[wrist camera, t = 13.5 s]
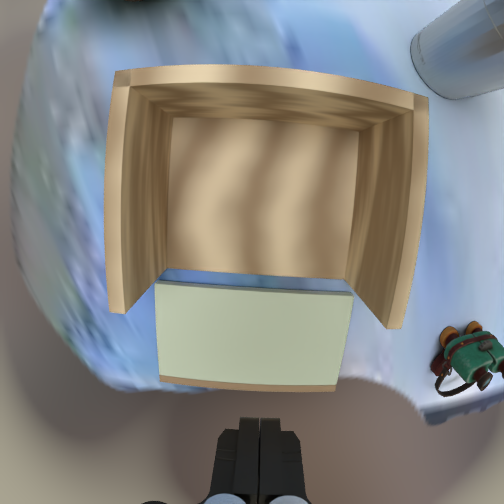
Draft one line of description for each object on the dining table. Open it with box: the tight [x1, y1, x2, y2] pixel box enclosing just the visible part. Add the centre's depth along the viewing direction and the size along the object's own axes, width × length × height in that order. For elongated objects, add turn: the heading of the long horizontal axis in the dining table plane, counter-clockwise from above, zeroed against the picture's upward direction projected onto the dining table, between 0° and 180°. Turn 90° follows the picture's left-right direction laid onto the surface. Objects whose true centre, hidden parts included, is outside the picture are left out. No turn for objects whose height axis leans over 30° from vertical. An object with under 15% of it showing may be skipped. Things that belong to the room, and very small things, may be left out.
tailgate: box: [155, 280, 354, 392], centre depth 31 cm, size 20×1×12 cm
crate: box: [104, 64, 429, 329], centre depth 23 cm, size 20×16×12 cm
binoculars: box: [431, 321, 504, 397], centre depth 29 cm, size 9×11×10 cm
